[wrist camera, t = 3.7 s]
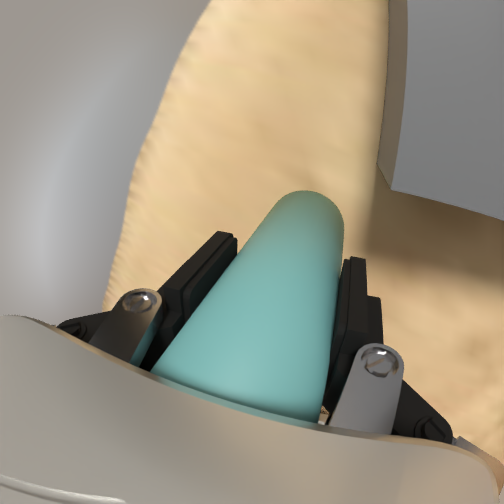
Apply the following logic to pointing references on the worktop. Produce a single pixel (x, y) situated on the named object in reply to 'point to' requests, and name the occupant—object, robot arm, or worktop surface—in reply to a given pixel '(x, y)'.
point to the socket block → (445, 103)
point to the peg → (268, 315)
